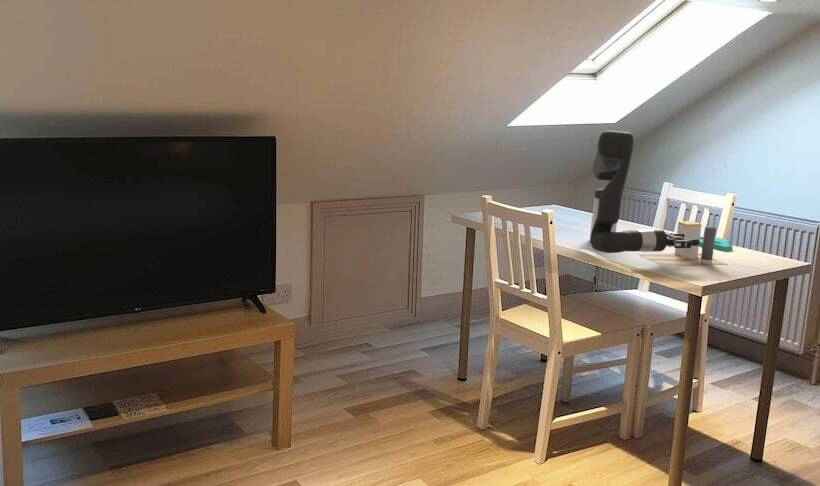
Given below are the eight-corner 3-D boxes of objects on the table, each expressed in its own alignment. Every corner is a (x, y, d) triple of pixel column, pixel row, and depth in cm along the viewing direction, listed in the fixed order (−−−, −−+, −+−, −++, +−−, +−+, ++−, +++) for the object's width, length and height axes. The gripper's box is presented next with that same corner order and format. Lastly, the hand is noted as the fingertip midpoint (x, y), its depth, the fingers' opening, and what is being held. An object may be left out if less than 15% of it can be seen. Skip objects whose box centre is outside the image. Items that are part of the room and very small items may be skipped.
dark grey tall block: (697, 262, 282) (702, 226, 279) (707, 261, 283) (711, 226, 280) (704, 264, 278) (709, 228, 275) (714, 264, 279) (718, 228, 276)
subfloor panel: (636, 258, 290) (637, 254, 289) (698, 256, 296) (698, 252, 296) (663, 270, 274) (664, 266, 273) (727, 268, 280) (728, 264, 280)
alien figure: (707, 254, 303) (743, 250, 313) (708, 248, 302) (744, 244, 312) (666, 242, 320) (702, 239, 330) (667, 237, 319) (702, 233, 329)
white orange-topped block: (674, 253, 293) (678, 221, 290) (689, 253, 294) (693, 221, 292) (682, 257, 288) (686, 224, 285) (697, 256, 290) (701, 224, 287)
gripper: (662, 234, 265) (705, 233, 269) (638, 225, 278) (680, 224, 283) (659, 256, 266) (702, 255, 271) (636, 246, 280) (677, 245, 284)
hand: (691, 239), depth 277 cm, fingers open, 8 cm apart
